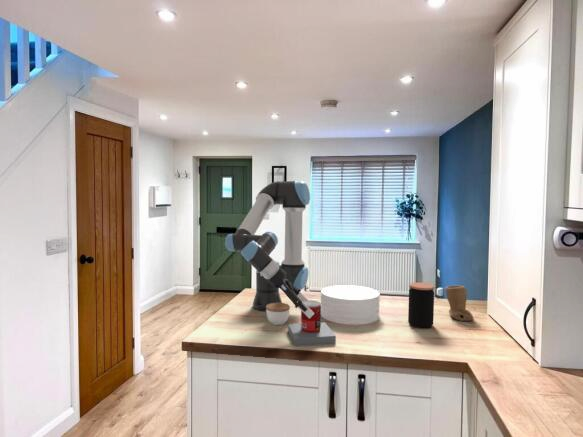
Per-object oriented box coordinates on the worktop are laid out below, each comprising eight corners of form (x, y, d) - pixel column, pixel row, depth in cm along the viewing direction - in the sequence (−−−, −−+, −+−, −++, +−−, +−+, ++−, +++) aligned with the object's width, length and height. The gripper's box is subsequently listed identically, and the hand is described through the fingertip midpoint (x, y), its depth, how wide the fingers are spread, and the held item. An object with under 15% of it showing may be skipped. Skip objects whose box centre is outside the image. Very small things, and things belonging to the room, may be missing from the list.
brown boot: (443, 311, 187) (444, 281, 186) (469, 313, 183) (470, 283, 182) (445, 320, 172) (446, 288, 172) (473, 323, 168) (475, 290, 168)
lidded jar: (292, 320, 170) (293, 300, 169) (284, 328, 160) (284, 306, 159) (271, 317, 173) (271, 298, 173) (262, 325, 163) (262, 304, 163)
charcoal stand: (288, 331, 156) (288, 324, 156) (324, 329, 159) (325, 322, 159) (295, 345, 141) (295, 338, 140) (335, 343, 143) (335, 335, 143)
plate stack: (360, 304, 197) (361, 283, 196) (390, 321, 170) (391, 297, 170) (312, 309, 188) (312, 287, 187) (335, 327, 162) (336, 301, 161)
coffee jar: (434, 323, 168) (435, 284, 167) (432, 330, 158) (433, 289, 158) (409, 319, 173) (410, 281, 172) (406, 326, 163) (407, 286, 162)
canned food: (319, 333, 145) (319, 306, 145) (299, 332, 147) (299, 304, 146) (321, 327, 153) (321, 300, 152) (302, 325, 154) (302, 299, 154)
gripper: (267, 273, 160) (301, 307, 161) (265, 287, 135) (306, 327, 136) (279, 261, 160) (313, 295, 161) (280, 273, 135) (320, 313, 136)
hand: (310, 310), depth 149 cm, fingers open, 13 cm apart
